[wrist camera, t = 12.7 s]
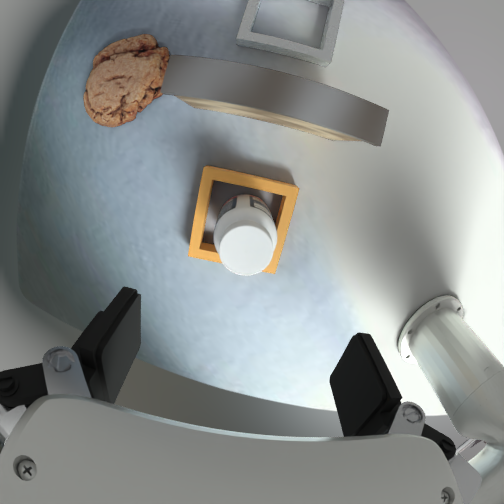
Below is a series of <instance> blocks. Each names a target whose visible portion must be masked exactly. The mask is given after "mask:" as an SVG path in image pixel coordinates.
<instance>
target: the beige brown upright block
mask: <svg viewBox="0 0 504 504" xmlns="http://www.w3.org/2000/svg"><path fill="white" fill-rule="evenodd" d="M160 93H162V94H166V95H174V96H176V97H177V98H179V99H181V100H182V101H184V102H186V103H187V104H189V105H190V106H192V107H194V108H199V109H205V110H212V111H217V112H223V113H228V114H234V115H239V116H243V117H248V118H253V119H257V120H262V121H266V122H270V123H274V124H278V125H282V126H286V127H290V128H293V129H297V130H300V131H304V132H307V133H311V134H314V135H317V136H320V137H324V138H327V139H330V140H339V141H364V142H367V143H369V144H372V145H374V146H381V143H382V138H383V134H384V130H385V126H386V121H387V117H388V112H389V110H387V109H385V108H383V107H381V106H378V105H376V104H374V103H371V102H369V101H367V100H364V99H362V98H359V97H357V96H354V95H352V94H349V93H347V92H344V91H341V90H339V89H336V88H333V87H330V86H327V85H324V84H321V83H318V82H315V81H312V80H308V79H305V78H302V77H298V76H295V75H291V74H287V73H284V72H280V71H276V70H271V69H267V68H263V67H258V66H253V65H248V64H243V63H237V62H232V61H225V60H219V59H211V58H203V57H194V56H183V55H170V58H169V62H168V65H167V69H166V72H165V76H164V79H163V83H162V87H161V91H160Z"/></svg>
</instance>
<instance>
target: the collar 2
mask: <svg viewBox="0 0 504 504" xmlns="http://www.w3.org/2000/svg"><path fill="white" fill-rule="evenodd" d="M214 180H216V181H221V182H226V183H231V184H236V185H240V186H245V187H249V188H254V189H258V190H263V191H267V192H271V193H275V194H280V195H283V197H282V200H281V204H280V208H279V212H278V215H277V219H276V223H275V226H276V230H277V244H276V247H275V250H274V252H273V257H272V259H271V261H270V263H269V265H268V266H267V267H266V268H265V269H264V270H262V271H263V272H268V273H273V274H275V272H276V269H277V265H278V262H279V259H280V255H281V252H282V248H283V245H284V242H285V238H286V235H287V231H288V228H289V224H290V220H291V217H292V213H293V210H294V206H295V203H296V199H297V195H298V192H299V188H298V187H297V186H296V185H293V184H289V183H285V182H281V181H277V180H273V179H268V178H264V177H260V176H255V175H251V174H247V173H242V172H237V171H233V170H228V169H223V168H218V167H213V166H208V165H207V166H205V167H204V168H203V173H202V178H201V183H200V188H199V194H198V199H197V204H196V210H195V216H194V222H193V228H192V234H191V240H190V246H189V253H188V256H190V257H194V258H199V259H204V260H209V261H213V262H218V263H222V262H221V259H220V256H219V254H218V252H217V250H216V248H215V245H214V244H209V243H204V242H202V240H203V234H204V229H205V223H206V218H207V213H208V207H209V202H210V197H211V192H212V187H213V182H214Z"/></svg>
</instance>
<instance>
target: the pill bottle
mask: <svg viewBox="0 0 504 504" xmlns="http://www.w3.org/2000/svg"><path fill="white" fill-rule="evenodd" d="M276 244H277V230H276V226H275V224H274V221H273V218H272V215H271V213H270V210H269V208H268V206H267V205H266V204H265V202H264V201H263V200H261V199H260V198H258V197H256V196H253V195H249V194H242V195H237V196H234V197H232V198H230V199H229V200H228V201H227V202H226V203H225V204H224V205H223V207H222V208H221V211H220V213H219V216H218V220H217V223H216V226H215V229H214V245H215V248H216V250H217V252H218V254H219V256H220V259H221V262H222V263H223V265H224V266H225V267H226V268H227V269H228V270H229V271H231V272H233V273H235V274H238V275H243V276H249V275H254V274H257V273H259V272H261V271H262V270H264V269H265V268H266V267H267V266H268V265H269V263H270V261H271V259H272V257H273V252H274V250H275V247H276Z"/></svg>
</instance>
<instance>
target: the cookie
mask: <svg viewBox="0 0 504 504" xmlns="http://www.w3.org/2000/svg"><path fill="white" fill-rule="evenodd" d="M169 56H170V55H169V50H168V49H167V47H161V48H160V47H158V43H157V41H156V39H155V38H154V37H153V36H152V35H149V34H142V35H138V36H135V37H130V38H128V39H122V40H119V41H116V42H114V43H112V44H110V45H108V46H107V47H105V48H104V49H103V50H102V51H100V52H99V53H98V55H96V56H95V58H94V60H93V69H92V71H91V72H90V75H89V78H88V80H87V83H86V91H85V93H84V106H85V109H86V112H87V113H88V115H89V116H90V117H91V119H92V120H93V121H94V122H96V123H98V124H100V125H102V126H107V127H116V126H120V125H122V124H124V123H126V122H130V121H132V120H134V119H135V118H136V114H137V112H141V111H142V110H143V109H144V108H145V107H146V106H147V105H148V104H150V103H151V102H152V101H153V100H154V99H156V98H158V97H160V96H162V95H163V94H162V93H160V91H161V87H162V83H163V79H164V76H165V72H166V69H167V65H168V62H169Z"/></svg>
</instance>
